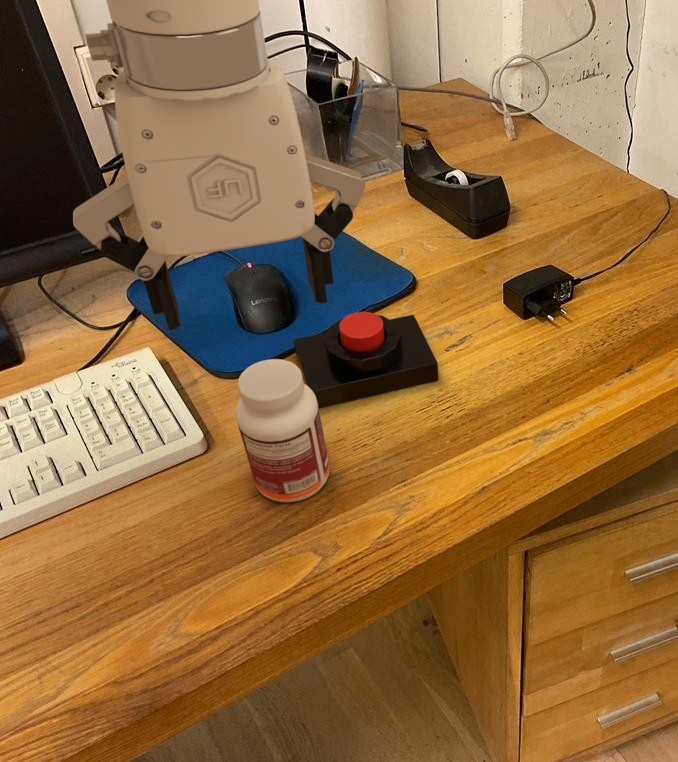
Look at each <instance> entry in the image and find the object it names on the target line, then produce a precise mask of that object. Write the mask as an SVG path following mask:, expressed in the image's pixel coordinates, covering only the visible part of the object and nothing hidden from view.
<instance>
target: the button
mask: <svg viewBox="0 0 678 762" xmlns="http://www.w3.org/2000/svg"><path fill="white" fill-rule="evenodd" d="M378 315H379V314H376V313H373V312H370V311H357V312H352V313H349V314H348V315H346V316H344V317H345V318H344V317H343V318H344V319H343V320H342V321H341V322H340V325H339V330H340V336H341V342H342V345H343V346H344V347H345V348H346V349H348V350H350V351H356V352H366V351H370V350H375V349H376V348H378V347H379V346H381V345H382V343H383V341H384V328H383V321H382V319H381V318H380V317H379V316H378Z"/></svg>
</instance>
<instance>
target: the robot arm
mask: <svg viewBox="0 0 678 762" xmlns="http://www.w3.org/2000/svg"><path fill="white" fill-rule="evenodd" d="M106 4H107V8H108V12H109V16H110V19H111V23H107V29H100V30H99V31H100V32H98V33H97V32H95V33H85V40H86V44H87V48H88V52H89V55H90V58H91V61H92V62H94V61H107V62H108V63H116V66H117V68H118V69H119V68H123V70H122V71H121V72H119V74H117V76H116V79H115V83H114V104H115V105H114V108H115V109H114V110H115V117H116V127H117V131H118V132H117V133H118V138H119V144H120V148H121V152H122V158H123V162H124V165H125V166H124V167H125V171H126V175H125V176H123V177H121V178H120V179H118V180H117V181H115V182H114V183H112V184H110V185H109V186H107V187H106V188H104V189H103V190H101V191H100V192H98V193H97V194H95V195H94V196H92V197H91V198H89V199H87V200H86V201H84V202H83V203H81V204H80V205H78V206H77V207H75V208H74V210H73V212H72V224H73V227H74V228H75V229H76V230H77V231H78V232H79V233H80V234H81V235H82V236H83V237H84V238H86V240H88V241H89V242H90V243H91V244H92V245H93V246H95V247H96V248H97V249H99V250H100V252H101V255H102V256H103V257H104V258H106V259H108V260H110V261H112V262H114V263H116V264H118V265H119V266H122V267H124V268H125V269H128V270H129V271H132V272H134V275H135V277H136V278H137V279H139V280H141V281H143V283H144V286H145V290H146V291H145V292H146V294H147V297H148V301H149V303H150V307H151V310H152V313H153V315H159V314H164V317H165V321H166V324H167V328H168V331H175V330H178V329H179V327H181V322H180V314H179V308H178V307H179V306H178V301H177V298H176V297H177V296H176V293H175V291H174V286H173V283H172V279H171V276H170V272H169V268H168V265H167V262H166V260H167V259H168V258H169V257H170V258H171V257H173V258H174V257H187V256H189V257H190V256H196V255H202V254H203V255H204V254H209V253H210V254H211V253H217V252H224V251H230V250H235V249H243V248H249V247H254V246H255V247H256V246H263V245H268V244H274V243H280V242H286V241H291V240H294V239H297V238H299V237H300V238H302V246H303V252H304V260H305V266H306V272H307V273H306V274H307V280H308V283H309V286H310V289H311V292H312V295H313V297H314V300H315V303H318V304H325V303H328V299H327V298H328V297H327V289H326V286H327V285H333V284H334V276H333V275H334V274H333V268H332V258H331V251H332V250H333V249H334V247H335V240H336V239H337V238H338V237H339V235H341V233H342V232H343V231H344V230H345V229H346V228H347V226H348V225H349V224H350V223H351V222H352V221H353V218H354V211H355V209H356V208H357V206H358V204H359V202H360V200H361V198H362V196H363V193H364V192H365V191H364V190H365V188H366V183H365V180H364V178H363V176H362V175H361V173H360V172H359V171H357V170H354V169H352V168H349V167H346V166H343V165H340V164H338V163H334V162H331V161H328V160H326V159H322V158H319V157H318V156H317V157H316V156H313V155H311V154H308V153H306V152H305V146H304V141H303V137H302V131H301V127H300V123H299V119H298V114H297V110H296V107H295V104H294V101H293V97H292V93H291V90H290V87H289V84H288V81H287V78H286V76H285V74H284V71H283V69H282V68H280V66H279V65H278V64H277V62H275V61H274V60H272V59H270V58H268V54H267V47H266V41H265V35H264V34H265V33H264V28H263V27H264V26H263V21H262V20H263V19H262V15H261V10H260V3H259V0H106ZM312 183H314V184H317V185H320V186H324V187H326V188H330V189H333V190H336V191H335V196H334V198H333V199H331V200H330V201H329V202H328V204H327V205H326V206H325V207H324V209H322V210H321V212H320V213H318V212H316V210H315V205H314V197H313V191H312V190H313V189H312ZM133 206H134V209H135V213H136V217H137V220H138V224H139V228H140V230H141V234H140V236H139V238H138V239H137V240H136V239H134V238H132V237H131V236H128V235H127V234H125V233H123V232H121V231H120V230H117V229H115V228H113V227H112V225H111V223H109V222H110V221H112V220H113V219H114V218H116V217H117V216H119V215H121V214H122V213H123V212H125V211H127V210H128V209H130V208H131V207H133Z"/></svg>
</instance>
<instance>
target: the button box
mask: <svg viewBox="0 0 678 762" xmlns="http://www.w3.org/2000/svg"><path fill="white" fill-rule="evenodd" d="M377 315H378V316H379V317H380V318H381V319H382V321H383V328H384V341H383V343H382V345H381V346H379V347H378V348H376V349H375V350H370V351H366V352H356V351H350V350H348V349H346V348H345V347H344V346H343V345H342V342H341V336H340V330H339V325H340V322H341V321H342V320H343V319H344V318H345V317H346V316H344V317H343V318H341V319H339V320H338V321H335V323H333V324H331V325H330V326H329V328H328V329H327V331H326V332H322V333H318V334H313V335H308V336H304V337H298V338H295V339H292V342H293V346H294V351H295V352H294V353H295V358H296V360H297V363H298V368H299V369H300V371H301V373H302V378H303V382H304V384H305V385H307V386H308V387H309V388H310V389H311V390H312V391H313V393H314V394H315V396H316V399H317V403H318V407H319V409H322V408H327V407H331V406H334V405H339V404H344V403H348V402H353V401H356V400H361V399H365V398H369V397H373V396H377V395H382V394H387V393H391V392H395V391H399V390H403V389H408V388H412V387H415V386H420V385H425V384H428V383H429V384H430V383H433V382H437V381H439V363H438V361H437V359H436V357H435V355H434V353H433V351H432V348H431V347H430V344H429V343H428V341H427V339H426V337H425V334H424V333H423V330H422V329H421V326H420V324H419V322H418V320H417V318H416V317H415V316H416V315H415V314H409V315H404V316H399V317H395V318H390V319H389V318H388V317H386V316H384V315H382V314H380V315H379V314H377Z"/></svg>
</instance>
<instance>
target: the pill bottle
mask: <svg viewBox="0 0 678 762" xmlns="http://www.w3.org/2000/svg"><path fill="white" fill-rule="evenodd" d="M237 389H238V394H239V400H238V402H237V404H236V408H235V420H236V423H237V427H238V431H239V433H240V437H241V441H242V443H243V448H244V450H245V454H246V458H247V462H248V464H249V468H250V471H251V475H252V479H253V481H254V484H255V486H256V489H257V490H258V492H259V493H260V494H261V495H263V496H264V497H266V498H268V499H269V500H271V501H274V502H279V503H293V502H294V503H295V502H300V501H302V500H307V499H309V498H310V497H313V495H315V494H317V493H318V492H319V491H320V490H321V489H322V488H323V487H324V485H325V484H326V483H327V481H328V479H329V476H330V471H331V469H330V467H331V465H330V458H329V455H328V450H327V444H326V439H325V434H324V429H323V423H322V419H321V413H320V408H319V407H318V403H317V399H316V396H315V394H314V393H313V391H312V390H311V389H310V388H309V387H308V386H307V385H305V384H304V380H303V377H302V373H301V370H300V367H299V366H298V365H296V364H295V363H293V362H292V361H289V360H285V359H279V358H272V359H265V360H261V361H258V362H256V363H255V362H254V363H253V364H251V365H250V366H248V367H246V368H245V369H244V370H243V371H242V372H241V373H240V376H239V378H238V380H237Z"/></svg>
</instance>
